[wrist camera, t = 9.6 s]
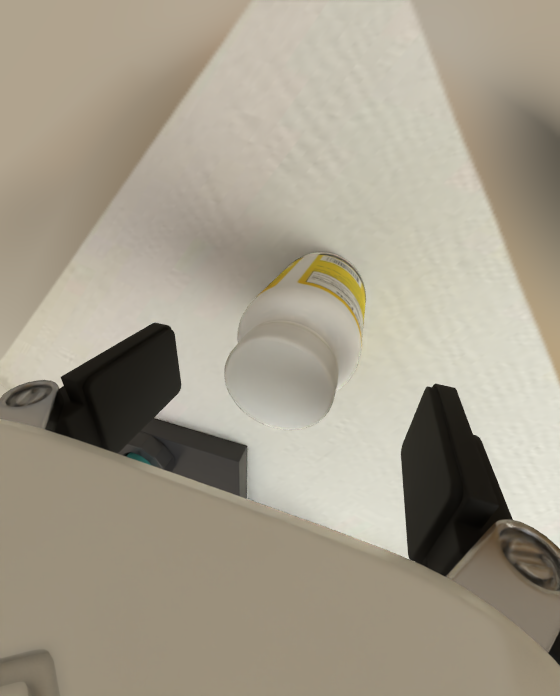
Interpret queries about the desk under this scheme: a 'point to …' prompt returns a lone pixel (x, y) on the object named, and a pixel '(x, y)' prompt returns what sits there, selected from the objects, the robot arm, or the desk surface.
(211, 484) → the dark grey button base
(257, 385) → the supplement bottle
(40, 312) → the desk surface
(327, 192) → the desk surface
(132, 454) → the button
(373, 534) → the desk surface
